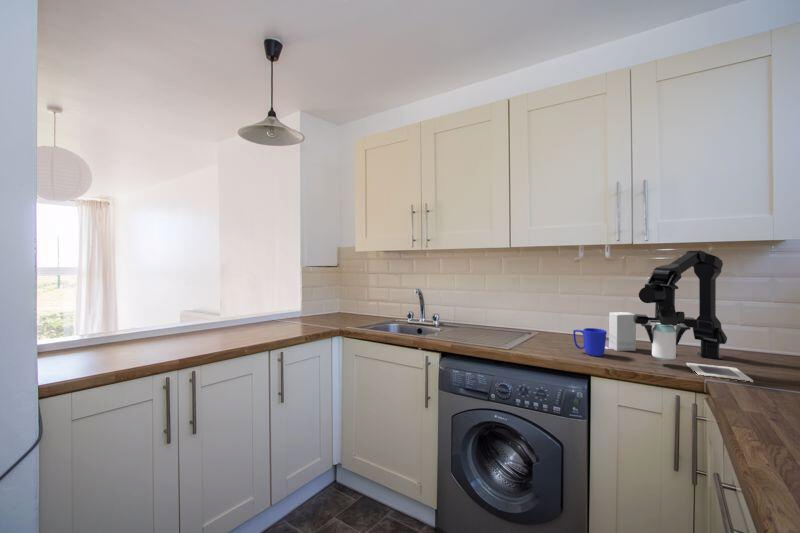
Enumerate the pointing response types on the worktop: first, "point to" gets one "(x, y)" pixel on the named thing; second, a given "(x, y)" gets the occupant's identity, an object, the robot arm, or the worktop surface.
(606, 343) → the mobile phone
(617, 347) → the skincare box
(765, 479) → the worktop surface
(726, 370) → the dock
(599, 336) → the mug
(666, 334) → the can
